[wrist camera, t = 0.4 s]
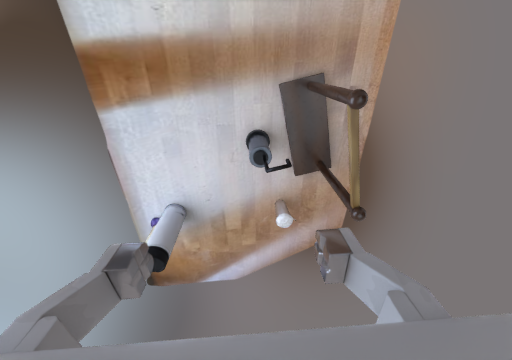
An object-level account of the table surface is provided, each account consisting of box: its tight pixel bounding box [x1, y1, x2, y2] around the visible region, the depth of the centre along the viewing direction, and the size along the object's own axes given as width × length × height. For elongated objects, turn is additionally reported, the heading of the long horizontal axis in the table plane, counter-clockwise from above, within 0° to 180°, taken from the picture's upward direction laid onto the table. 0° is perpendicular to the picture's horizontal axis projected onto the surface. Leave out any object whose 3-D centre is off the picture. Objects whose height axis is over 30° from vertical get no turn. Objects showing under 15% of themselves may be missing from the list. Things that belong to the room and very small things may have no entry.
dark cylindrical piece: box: [246, 130, 292, 173], centre depth 47 cm, size 8×6×18 cm
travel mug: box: [147, 204, 186, 272], centre depth 55 cm, size 6×7×20 cm
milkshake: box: [275, 199, 296, 228], centre depth 60 cm, size 4×5×10 cm
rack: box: [279, 73, 368, 221], centre depth 43 cm, size 10×24×25 cm, turn 14°
